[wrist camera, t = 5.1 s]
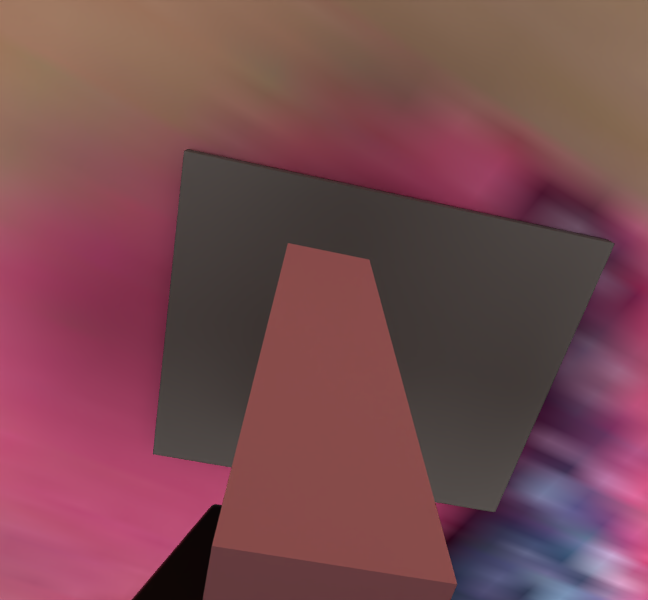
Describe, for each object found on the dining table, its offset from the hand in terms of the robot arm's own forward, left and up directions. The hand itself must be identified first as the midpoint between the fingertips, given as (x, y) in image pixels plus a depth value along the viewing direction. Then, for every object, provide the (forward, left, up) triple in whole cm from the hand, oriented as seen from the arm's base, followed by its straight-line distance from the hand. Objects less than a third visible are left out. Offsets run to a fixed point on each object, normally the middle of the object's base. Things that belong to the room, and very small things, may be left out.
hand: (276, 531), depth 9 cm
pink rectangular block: (+1, 0, -3) cm, 3 cm away
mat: (0, -2, -7) cm, 8 cm away
